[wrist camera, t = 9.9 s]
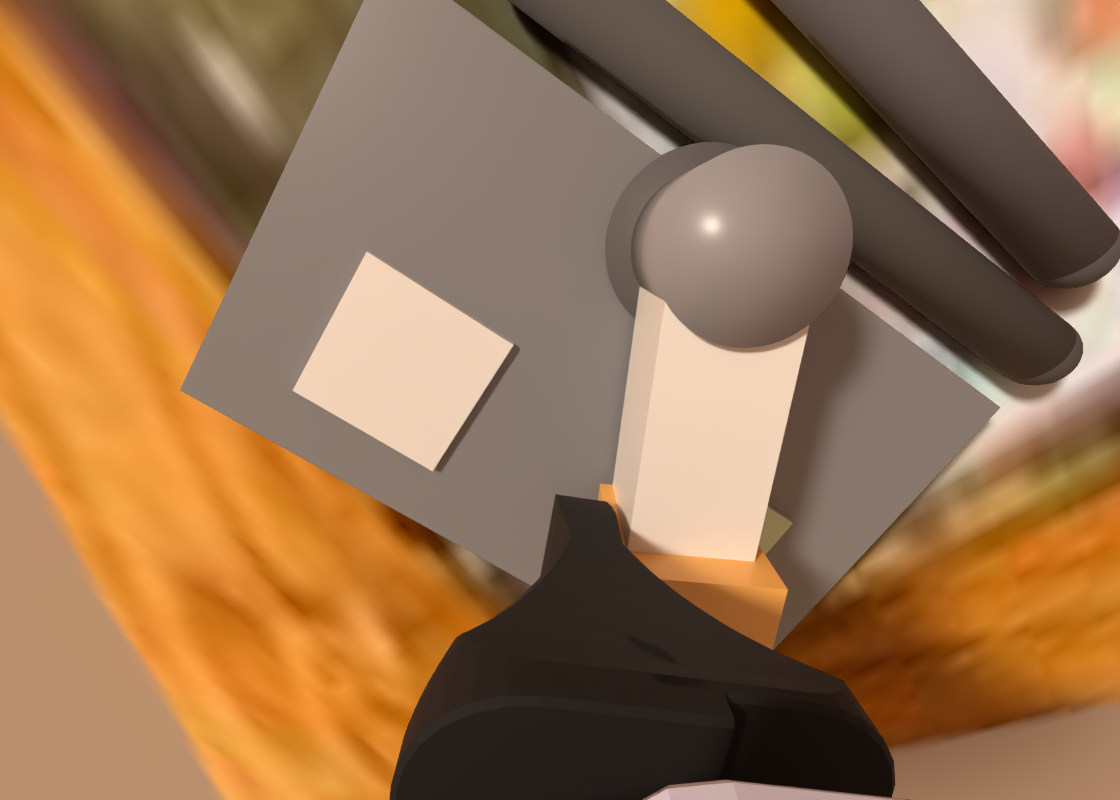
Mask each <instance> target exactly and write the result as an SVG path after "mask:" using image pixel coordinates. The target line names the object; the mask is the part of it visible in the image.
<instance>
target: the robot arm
mask: <svg viewBox="0 0 1120 800" xmlns="http://www.w3.org/2000/svg"><path fill="white" fill-rule="evenodd" d="M894 787H895V772H894V761H893V758H892V756H891V754H890V752H889V749H888V747H887V745H886V743H885V741H884V739H883V737H882V736H881V735H880V733H879V732H878V730H877V729H876V727H875V726H874V724H873V723H872V721H871V720H870V718H869V717H868V716H867V714H866V713H865V711H864V710H863V708H862V707H861V705H860V704H859V702H858V701H857V700H856V698H855V697H854V695H853V694H852V692H851V691H850V689H849V688H848V687H847V685H846V684H845V682H844V681H843V680H841V679H838V678H836V677H834V676H831V675H829V674H827V673H824V672H822V671H820V670H817V669H815V668H812V667H810V666H808V665H805V664H803V663H801V662H798V661H796V660H794V659H791V658H789V657H787V656H784V655H782V654H780V653H778V652H776V651H774V650H772V649H770V648H768V647H766V646H764V645H762V644H760V643H758V642H756V641H754V640H752V639H750V638H748V637H747V636H745V635H743V634H741V633H739V632H737V631H736V630H734V629H732V628H730V627H729V626H727V625H725V624H723V623H722V622H720V621H719V620H717V619H715V618H714V617H712V616H711V615H709V614H708V613H706V612H705V611H703V610H701V609H700V608H698V607H697V606H695V605H694V604H692V603H691V602H690V601H688V600H687V599H685V598H684V597H682V596H681V595H680V594H679V593H677V592H676V591H675V590H673V589H672V588H671V587H670V586H668V585H667V584H666V583H665V582H663V581H662V580H661V579H659V578H658V577H657V576H656V575H655V574H654V573H652V572H651V571H650V570H649V569H648V568H647V567H646V566H645V565H644V564H643V563H642V562H641V561H640V560H639V559H638V558H636V557H635V556H634V555H633V554H632V553H631V552H630V551H629V550H628V549H627V548H626V547H625V545H624V544H623V543H622V538H621V534H620V529H619V524H618V520H617V515H616V512H615V511H614V509H613V508H612V506H611V505H610V504H609V503H608V502H606V501H599V500H592V499H585V498H578V497H572V496H565V495H558V494H555V500H554V505H553V510H552V516H551V521H550V527H549V532H548V537H547V543H546V548H545V553H544V559H543V564H542V569H541V575H540V577H539V579H538V580H537V581H536V582H535V583H534V584H533V585H532V586H531V587H530V588H529V589H528V590H527V591H526V592H525V593H524V594H523V595H522V596H521V597H520V598H519V599H518V600H516V601H515V602H514V603H512V604H511V605H510V606H508V607H507V608H506V609H505V610H503V611H502V612H501V613H499V614H498V615H497V616H495V617H494V618H492V619H491V620H489V621H487V622H485V623H483V624H481V625H479V626H477V627H475V628H474V629H472V630H470V631H467V632H465V633H463V634H461V635H459V636H458V637H456V639H455V640H454V642H453V643H452V645H451V646H450V648H449V649H448V651H447V652H446V654H445V656H444V657H443V659H442V660H441V662H440V663H439V665H438V667H437V669H436V670H435V672H434V674H433V675H432V677H431V679H430V680H429V682H428V684H427V686H426V688H425V690H424V692H423V694H422V695H421V697H420V699H419V702H418V704H417V706H416V708H415V710H414V712H413V715H412V717H411V720H410V722H409V724H408V727H407V730H406V732H405V735H404V739H403V742H402V746H401V750H400V754H399V757H398V761H397V765H396V769H395V773H394V777H393V780H392V784H391V791H390V800H908V799H899V798H892V794H893V790H894Z"/></svg>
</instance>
